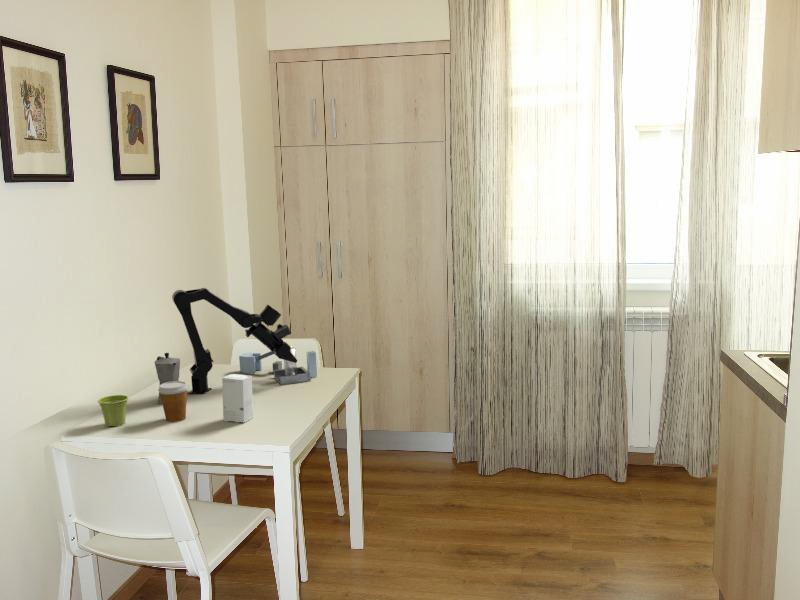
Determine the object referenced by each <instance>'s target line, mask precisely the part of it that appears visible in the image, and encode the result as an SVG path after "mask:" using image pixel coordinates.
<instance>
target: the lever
mask: <svg viewBox="0 0 800 600" xmlns="http://www.w3.org/2000/svg"><path fill="white" fill-rule="evenodd" d="M273 355H275V354H274V352H272V351H271V350H270V351H268V352H265V353H263V354H261V356H258V357H256V358H255V360H256V361H258V360H261V361H262V360H263V359H266V358H268V357H270V356H273Z"/></svg>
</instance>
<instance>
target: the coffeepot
mask: <svg viewBox="0 0 800 600" xmlns="http://www.w3.org/2000/svg"><path fill="white" fill-rule="evenodd" d="M169 354H170V353H169V352H165V353H164V357H163V356H157V357H156V360H155V361H154V367H155V369H156V375H157V378H158V383H159V385H158V387H159V386H160V385H161V384H163V383H166V382H172V381H180V367H181V359H180V358H177V357H169V356H170V355H169ZM157 401H158V404H159V405H163V404H162V400H161V395H160V393H159V392H158V399H157Z"/></svg>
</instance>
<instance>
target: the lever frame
mask: <svg viewBox="0 0 800 600" xmlns="http://www.w3.org/2000/svg"><path fill="white" fill-rule="evenodd" d="M261 355H262V352H249V353H248V352H247V353H246V352H245V353H242V354H241V355H239V356H238V358H239V370H240V371H239V373H240V372H244V373H252V374H251V375H256V374H257V371H263V365H262V359H261V360H258V361H256V360H255V358H256V357H258V356H261ZM281 369H283V361H280V360H276V361H274V362H273V363H272V374H273V375H274V370H281ZM244 373H243V374H244ZM255 373H256V374H255Z"/></svg>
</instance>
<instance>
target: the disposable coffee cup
mask: <svg viewBox="0 0 800 600" xmlns="http://www.w3.org/2000/svg"><path fill="white" fill-rule="evenodd" d="M159 385H160V384H159ZM159 385H158V390H157V391H158V394H159V393H160V395H161V400H162V404H161V405H162V408H163V412H164V416H165V421H166V422H168V423H177V421H178V422H181V421H184V420H186V418H187V417H186V415H187V399H188V398H187V394H188V388H189V386H188V385H187V382H186V381H182V380H179V381H172V382H166V383H163V384H161V385H160V386H159Z"/></svg>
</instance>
